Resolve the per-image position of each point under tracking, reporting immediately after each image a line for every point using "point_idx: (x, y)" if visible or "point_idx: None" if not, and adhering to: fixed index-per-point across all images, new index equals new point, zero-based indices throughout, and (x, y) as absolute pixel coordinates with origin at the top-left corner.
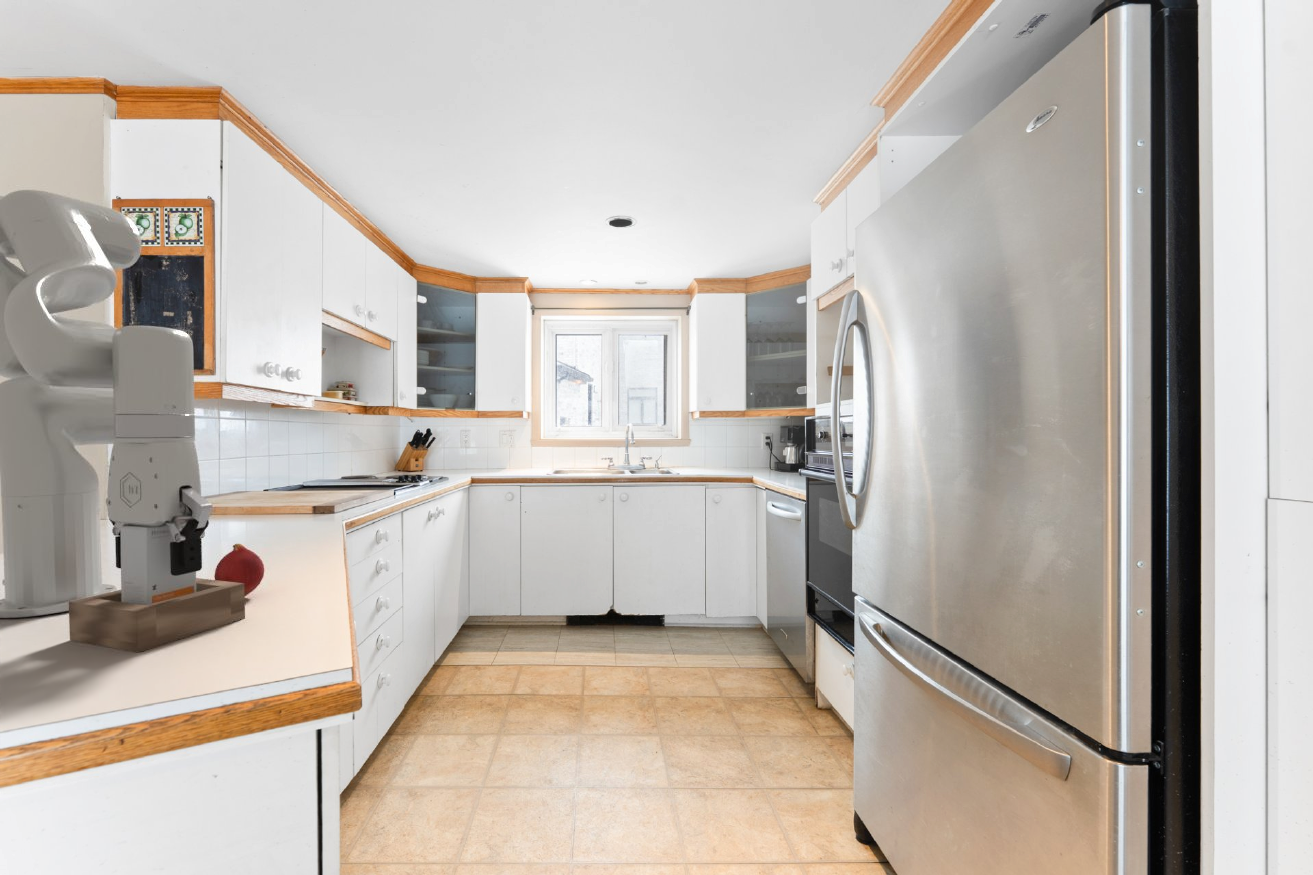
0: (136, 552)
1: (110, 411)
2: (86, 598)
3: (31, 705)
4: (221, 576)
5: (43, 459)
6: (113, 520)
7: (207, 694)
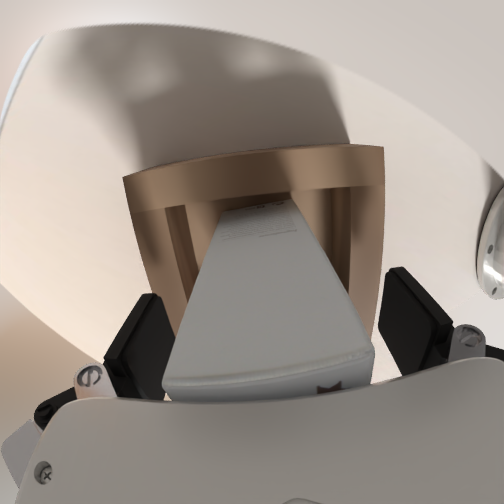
0: (239, 291)
1: None
2: (377, 178)
3: (81, 40)
4: None
5: None
6: (456, 362)
7: None
